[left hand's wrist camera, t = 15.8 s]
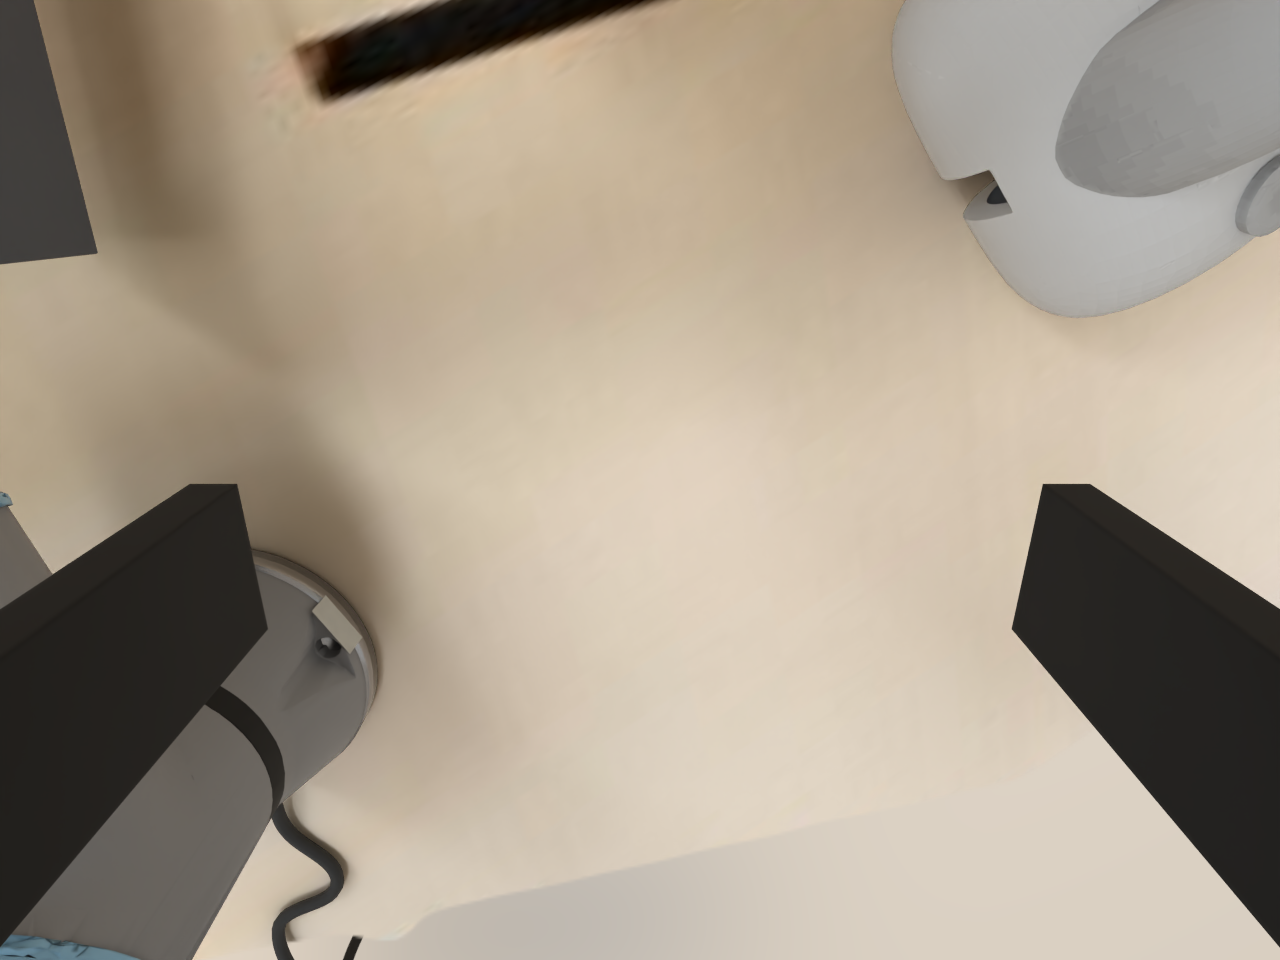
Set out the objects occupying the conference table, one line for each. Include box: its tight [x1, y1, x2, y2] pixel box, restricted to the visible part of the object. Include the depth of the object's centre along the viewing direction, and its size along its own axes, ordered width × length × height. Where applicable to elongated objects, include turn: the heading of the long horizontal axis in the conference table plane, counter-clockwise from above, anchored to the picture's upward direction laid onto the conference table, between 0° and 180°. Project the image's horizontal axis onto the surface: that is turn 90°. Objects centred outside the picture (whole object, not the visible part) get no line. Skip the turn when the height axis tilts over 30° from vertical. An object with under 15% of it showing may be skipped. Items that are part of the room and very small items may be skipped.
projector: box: [892, 0, 1280, 318], centre depth 26 cm, size 22×23×15 cm
